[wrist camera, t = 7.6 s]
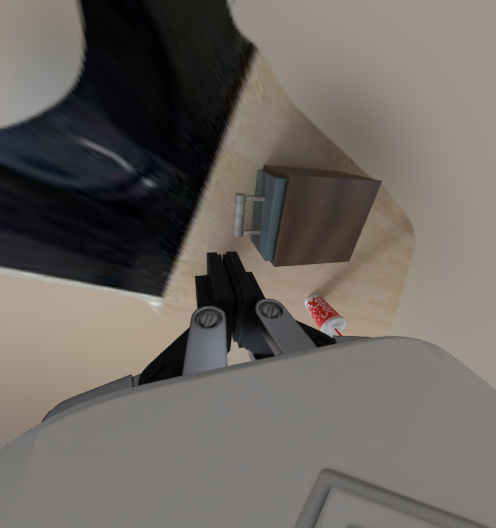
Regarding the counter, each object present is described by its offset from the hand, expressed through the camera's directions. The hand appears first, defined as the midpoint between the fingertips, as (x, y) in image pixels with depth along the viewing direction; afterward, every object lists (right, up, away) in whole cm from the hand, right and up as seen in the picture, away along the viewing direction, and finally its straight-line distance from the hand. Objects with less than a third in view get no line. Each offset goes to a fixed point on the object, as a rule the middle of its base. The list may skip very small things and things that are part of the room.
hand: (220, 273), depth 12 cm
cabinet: (+10, +11, +24) cm, 28 cm away
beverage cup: (+18, -9, +40) cm, 44 cm away
